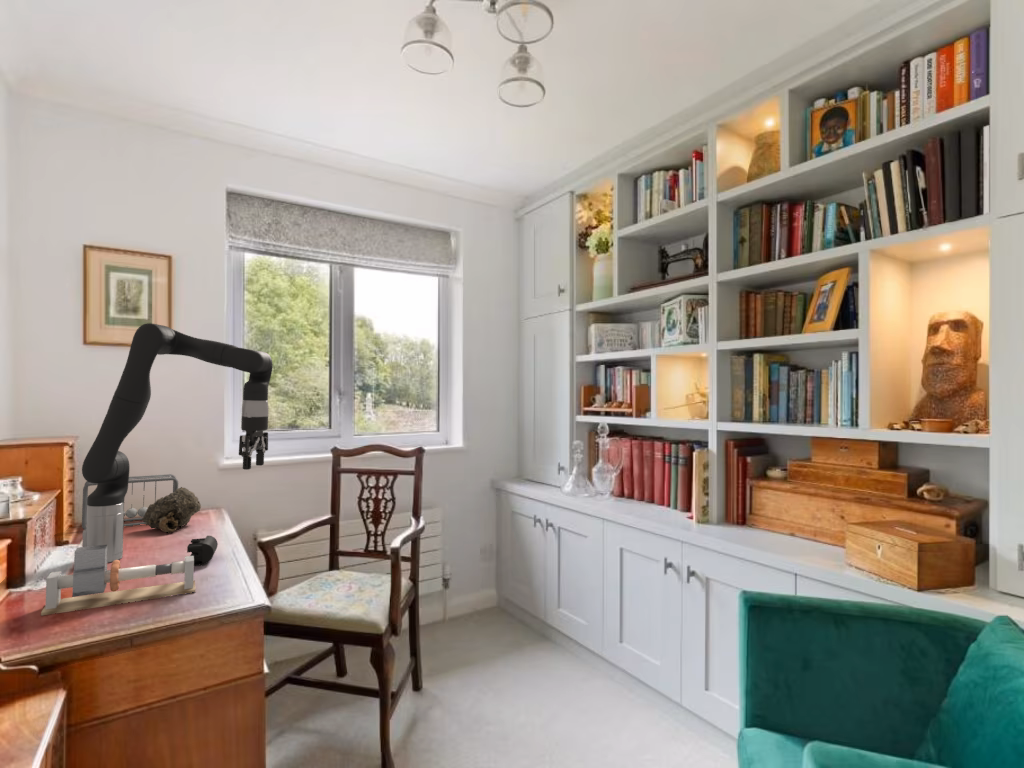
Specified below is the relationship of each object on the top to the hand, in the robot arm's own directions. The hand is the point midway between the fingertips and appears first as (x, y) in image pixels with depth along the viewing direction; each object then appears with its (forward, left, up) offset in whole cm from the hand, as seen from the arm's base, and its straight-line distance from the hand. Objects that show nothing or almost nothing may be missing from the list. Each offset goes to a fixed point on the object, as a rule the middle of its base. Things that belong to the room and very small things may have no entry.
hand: (253, 467), depth 169 cm
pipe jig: (-18, -30, -29) cm, 46 cm away
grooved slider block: (-24, -34, -26) cm, 49 cm away
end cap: (-15, 0, -30) cm, 33 cm away
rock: (-47, +37, -30) cm, 67 cm away
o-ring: (-20, -31, -27) cm, 46 cm away
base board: (-18, -30, -29) cm, 46 cm away
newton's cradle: (-67, +45, -30) cm, 86 cm away
